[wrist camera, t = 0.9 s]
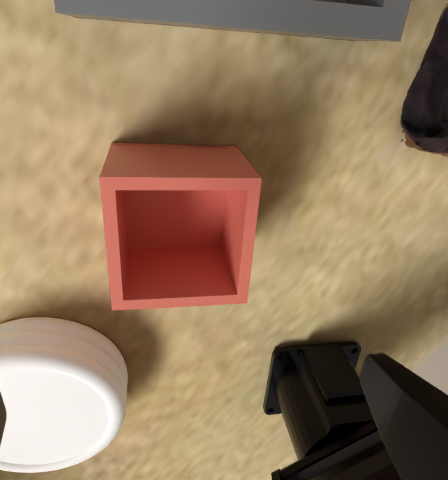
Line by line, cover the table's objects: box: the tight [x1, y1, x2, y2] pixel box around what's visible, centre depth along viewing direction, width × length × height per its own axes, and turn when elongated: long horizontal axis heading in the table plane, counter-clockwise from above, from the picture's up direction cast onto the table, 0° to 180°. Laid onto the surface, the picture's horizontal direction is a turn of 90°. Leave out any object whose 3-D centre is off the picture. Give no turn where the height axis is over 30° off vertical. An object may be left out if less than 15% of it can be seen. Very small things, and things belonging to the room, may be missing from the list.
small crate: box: [100, 143, 262, 310], centre depth 17 cm, size 6×6×5 cm
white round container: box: [0, 317, 128, 473], centre depth 22 cm, size 10×10×4 cm
